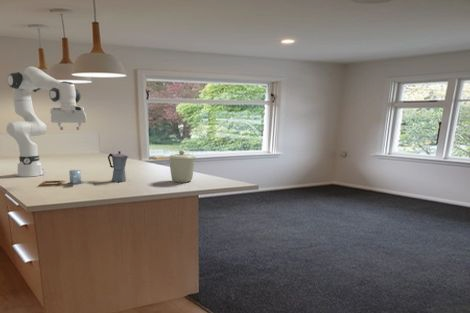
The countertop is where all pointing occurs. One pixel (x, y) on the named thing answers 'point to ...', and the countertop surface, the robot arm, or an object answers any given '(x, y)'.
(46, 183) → the holder
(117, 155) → the moka pot
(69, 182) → the mat
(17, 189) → the countertop surface
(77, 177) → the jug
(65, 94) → the robot arm
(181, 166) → the canister
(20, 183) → the countertop surface
